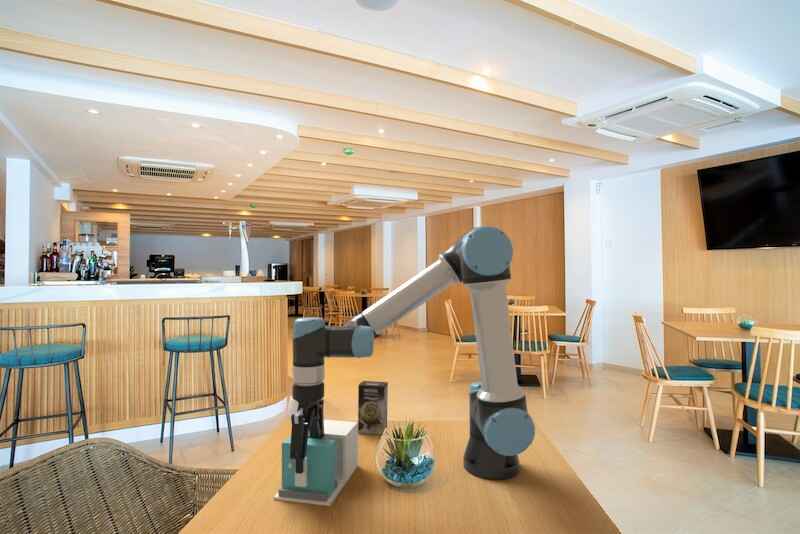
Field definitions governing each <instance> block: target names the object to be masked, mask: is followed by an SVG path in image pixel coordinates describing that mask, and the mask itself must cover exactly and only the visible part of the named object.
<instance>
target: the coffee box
mask: <svg viewBox="0 0 800 534" xmlns="http://www.w3.org/2000/svg"><path fill="white" fill-rule="evenodd" d="M388 386H389V383H388V381H370V380H369V381H368V380H363V381H361V382H360V383H359V384H358V388H357V389H358V392H357V393H358V394H357V395H358V398H357V400H358V401H357V402H358V403H357V408H358V409H357V416H358V417H357V422H358V434H365V435H378V436H383V435H382V434H383V432H384V430H385V428H387V429H388V392H389V391H388V390H389V389H388V388H389V387H388Z"/></svg>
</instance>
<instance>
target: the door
mask: <svg viewBox="0 0 800 534" xmlns="http://www.w3.org/2000/svg"><path fill="white" fill-rule="evenodd" d="M290 447H291V435H290V436H288V437H287V438H285V439H284V440H283V441H282V442H281V489H290V490H299V491H308V492H316V493H325V494H328V498H330V496H331V495H332V494H333V492H334V491H335V440H325V439H313V438H308V441H307V448H306V455H305V457H307V486H306V487H301V486H295V459H290Z"/></svg>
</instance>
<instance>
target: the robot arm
mask: <svg viewBox="0 0 800 534" xmlns="http://www.w3.org/2000/svg"><path fill="white" fill-rule="evenodd" d="M513 256H514V247H513V243H512V241H511V239H510V237H509V236H508V234H506V232H504V231H503V230H501V229H500V228H498V227H495V226H491V225H481V226H478V227H477V226H476V227H473V228H472V229H471V230H469V231H467V232H465V233H463V234H462V235H461V236H460V237H459V238H458V239H456V241H454V243H453V244H451V245H450V246H449V247H448V248H447V249H445V251H443V252H441V253H440V254H439V255H438V260H436V261H434V262H433V263H431V265H429V266H428V267H426V268H424V269H423V270H422V271H420V272H419V273H417V274H416V275H414V276H413V277H411V278H410V279H408V280H407V281H406V282H404V283H402V284H401V285H399V286H398V287H397V288H396V289H394V290H392V291H391V292H389V293H388V294H386V295H385V296H383V297H382V298H381V299H379V300H378V301H376V302H375V303H374V304H372V305H370V306H369V307H368V308H365V309H364V310H363V311H362V312H361V313H359V314H357V315H356V316H354V317H353V318H351V319H349V320H347V321H346V322H344V323H343V325H337V326H336V325H333V326H331V325H326V322H325V319H324V318H323V317H311V316H306V317H299V318H296V319H295V321H293V328H292V329H293V330H292V331H293V332H292V338H291V339H292V368H291V371H292V381H293V382H294V383H293V384H292V395H291V396H292V397H293V399H294V400H295V401H297V402H298V403H299V404H298V409H297V414H292V416H291V421H290V422H291V432H290V433H291V434H290V437H291V447H290V459H295V486H301V487H306V486H307V457H305V455H306V448H307V441H308V434H310V438H313V439H322V438H324V420H325V418H324V403H325V402H324V397H325V382H323V381H325V358H355V359H356V358H357V359H361V358H370V357H372V356H373V354H374V347H375V346H374V345H375V344H374V343H375V342H374V341H375V339H374V338H375V337H377V336H378V335H379V334H381V333H383V332H384V331H385V330H387V329H388V328H390V327H391V326H392V325H394V324H395V323H397V322H399V321H400V320H401V319H403V318H405V317H406V316H407V315H409V314H411V313H412V312H413V311H415V310H416V309H418V308H419V307H421V306H422V305H424V304H425V303H426V302H428V301H429V300H431V299H432V298H434V297H436V296H437V295H438V294H440V293H441V292H442V291H444V290H446V289H447V288H449V287H450V286H452V285H453V284H456V285H459V284H461V283H462V285H463V287H465V288H467V290H469V292H470V301H471V309H472V317H473V324H474V332H475V342H476V350H477V357H478V358H477V359H478V365H479V366H478V367H479V375H480V381H475V382H472V383H471V384H470V385H469V393H468V396H469V398H468V399H469V437H468V441H467V444H466V447H465V450H464V452H463V457H462V459H463V461H462V464H463V468H464V469H465V471H466V472H468V473H469V474H470V475H473V476H476V477H479V478H483V479H487V480H488V479H489V480H506V479H510V478H513V477H515V476H516V475H518V474H519V473H520V470H521V467H520V458H519V455H520V454H522V453H523V452H525V451H526V450H527V449H528V448H529V447H530V446H531V445H532V443H533V442H534V439H535V436H536V435H535V434H536V426H535V422H534V420H533V418H532V416H531V415H530V414H529V412H528V405H527V397H526V391H525V390H524V389H523V388H522V387H521V386H519V383H518V377H517V375H518V374H517V367H516V362H515V361H516V360H515V352H514V345H513V336H512V328H511V319H510V311H509V303H508V296H507V295H508V294H507V286H508V284H509V283H510V282H511V281H512V274H511V262H512V260H513ZM304 423H308V424H304Z"/></svg>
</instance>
